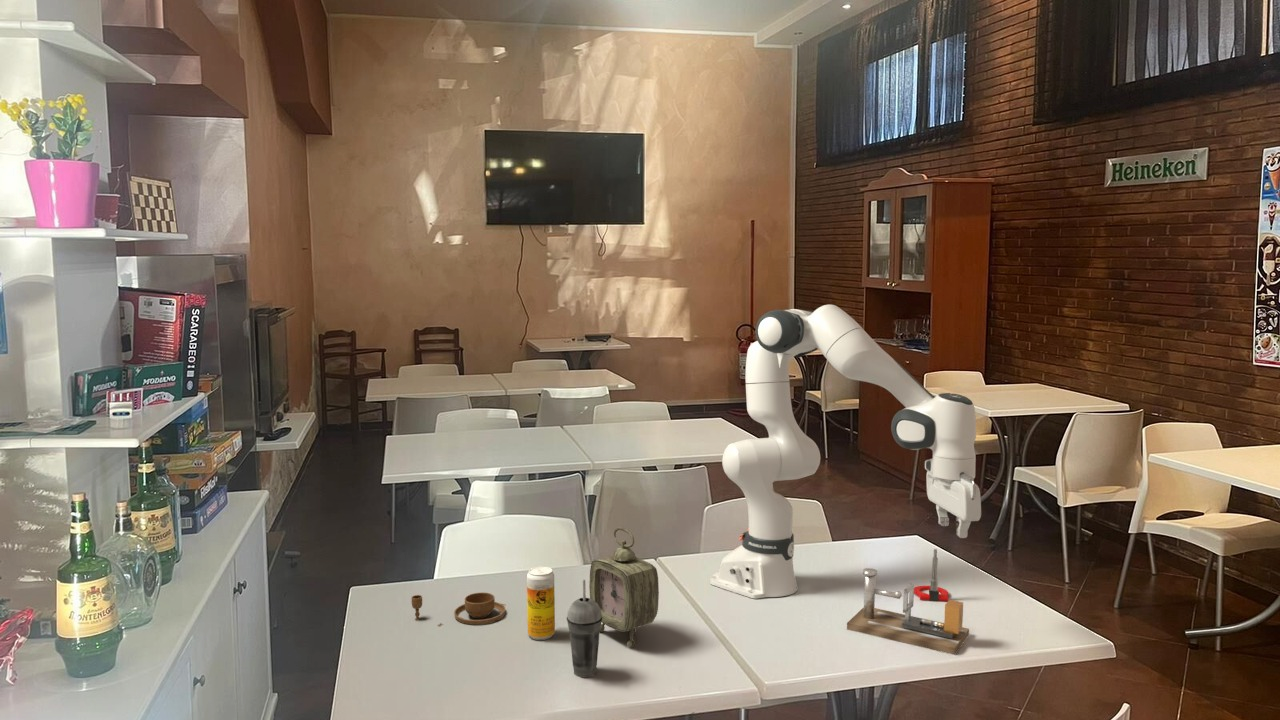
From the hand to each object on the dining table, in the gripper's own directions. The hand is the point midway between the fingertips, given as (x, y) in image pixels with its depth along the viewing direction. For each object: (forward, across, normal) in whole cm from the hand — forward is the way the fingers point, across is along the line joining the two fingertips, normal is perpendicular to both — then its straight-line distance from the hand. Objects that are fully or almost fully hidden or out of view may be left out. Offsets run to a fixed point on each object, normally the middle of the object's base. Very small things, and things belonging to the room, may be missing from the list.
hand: (952, 531), depth 197 cm
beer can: (+24, +10, +90) cm, 94 cm away
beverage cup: (+25, -9, +81) cm, 85 cm away
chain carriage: (+23, +2, +3) cm, 23 cm away
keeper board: (+25, +6, +8) cm, 26 cm away
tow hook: (+24, +27, -7) cm, 37 cm away
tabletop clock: (+24, +8, +71) cm, 76 cm away
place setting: (+24, +24, +109) cm, 114 cm away
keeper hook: (+23, +9, +12) cm, 28 cm away
